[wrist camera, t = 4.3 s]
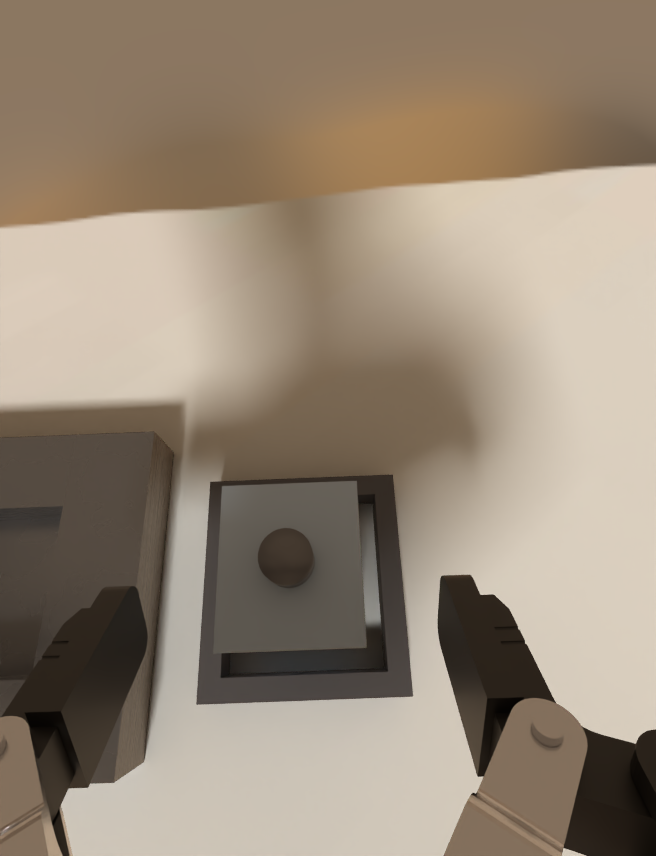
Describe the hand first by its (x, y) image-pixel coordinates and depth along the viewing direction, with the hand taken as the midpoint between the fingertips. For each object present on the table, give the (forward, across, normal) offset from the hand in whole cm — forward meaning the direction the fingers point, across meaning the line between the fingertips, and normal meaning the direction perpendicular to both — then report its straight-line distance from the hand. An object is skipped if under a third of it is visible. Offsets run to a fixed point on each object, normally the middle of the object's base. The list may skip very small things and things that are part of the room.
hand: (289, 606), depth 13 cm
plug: (+6, 0, +4) cm, 7 cm away
